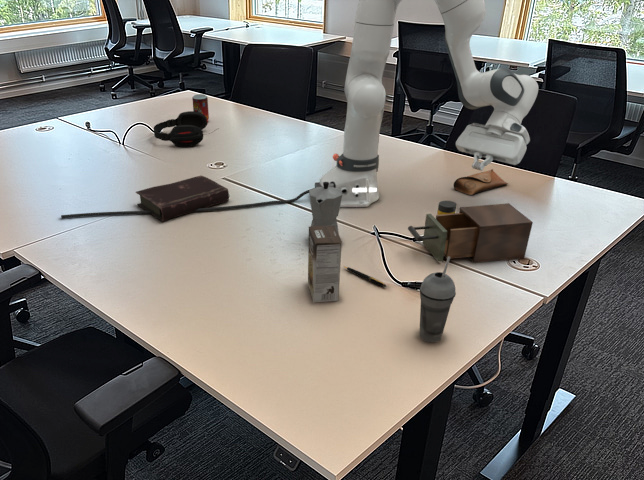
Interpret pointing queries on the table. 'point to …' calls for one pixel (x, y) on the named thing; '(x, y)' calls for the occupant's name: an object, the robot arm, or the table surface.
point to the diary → (182, 197)
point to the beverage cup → (435, 304)
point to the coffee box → (324, 263)
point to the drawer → (448, 235)
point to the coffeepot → (325, 205)
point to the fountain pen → (366, 277)
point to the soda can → (201, 104)
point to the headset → (183, 129)
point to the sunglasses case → (478, 182)
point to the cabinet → (499, 232)
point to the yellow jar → (446, 207)
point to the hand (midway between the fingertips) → (476, 168)
